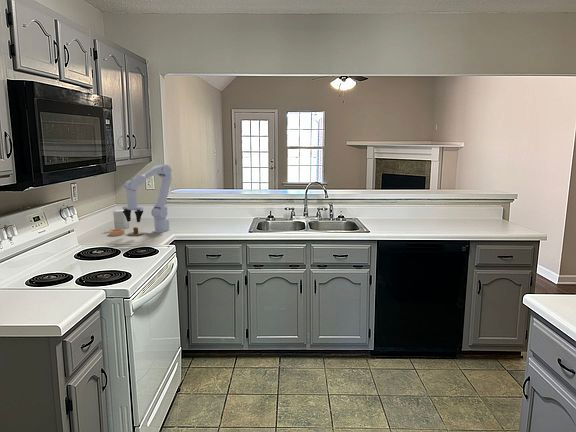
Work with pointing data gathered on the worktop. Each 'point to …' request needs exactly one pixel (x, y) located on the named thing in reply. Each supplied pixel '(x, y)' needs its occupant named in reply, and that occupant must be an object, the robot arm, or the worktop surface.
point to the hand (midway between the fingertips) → (133, 221)
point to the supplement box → (120, 220)
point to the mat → (140, 235)
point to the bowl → (116, 232)
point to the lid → (135, 232)
